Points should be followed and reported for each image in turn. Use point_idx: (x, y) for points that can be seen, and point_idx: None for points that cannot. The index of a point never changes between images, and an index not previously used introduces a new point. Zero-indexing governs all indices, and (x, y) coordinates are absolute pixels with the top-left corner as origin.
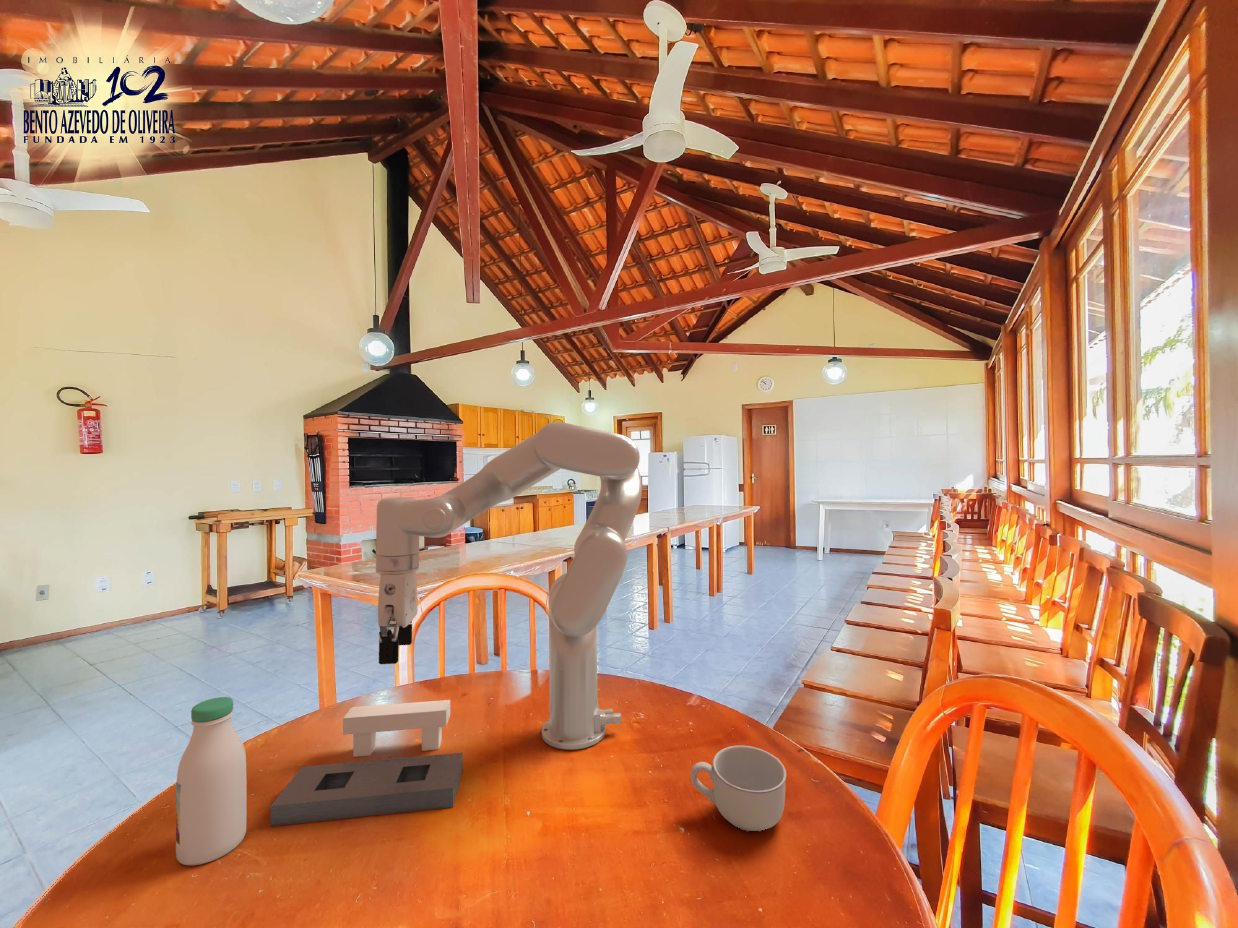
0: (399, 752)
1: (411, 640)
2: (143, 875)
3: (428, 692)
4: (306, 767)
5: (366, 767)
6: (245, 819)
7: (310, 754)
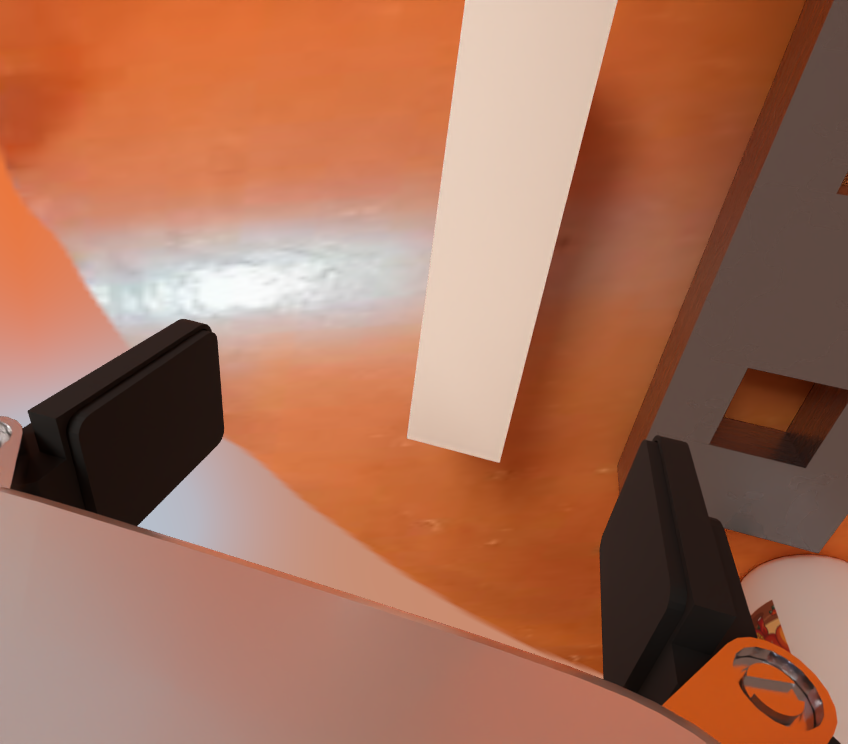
0: None
1: (182, 332)
2: None
3: (83, 128)
4: None
5: (742, 331)
6: (839, 589)
7: (452, 457)
